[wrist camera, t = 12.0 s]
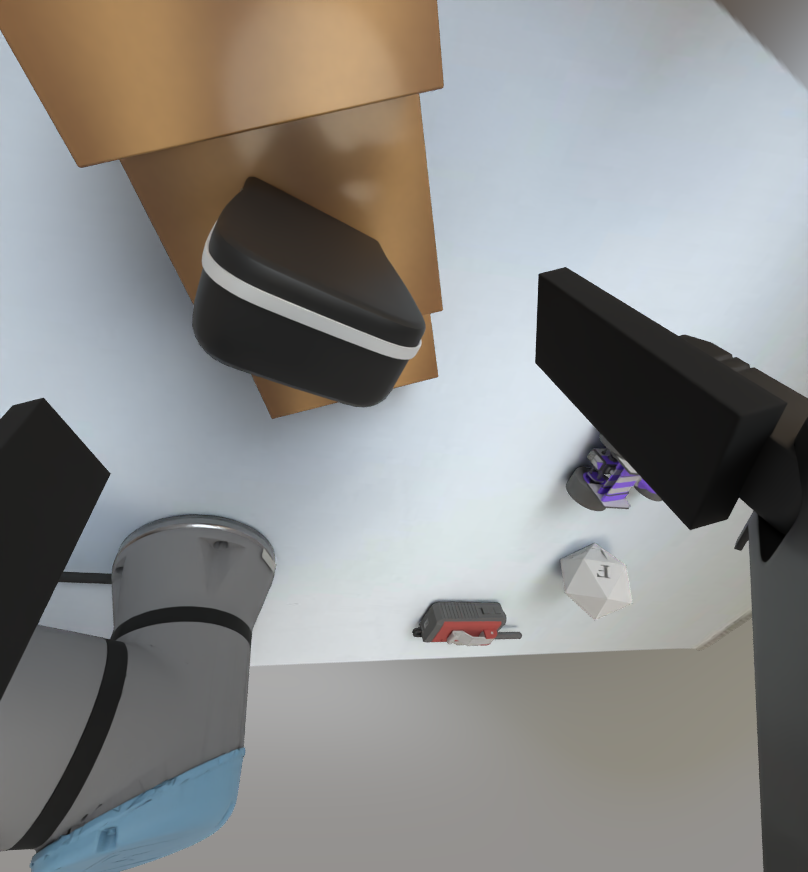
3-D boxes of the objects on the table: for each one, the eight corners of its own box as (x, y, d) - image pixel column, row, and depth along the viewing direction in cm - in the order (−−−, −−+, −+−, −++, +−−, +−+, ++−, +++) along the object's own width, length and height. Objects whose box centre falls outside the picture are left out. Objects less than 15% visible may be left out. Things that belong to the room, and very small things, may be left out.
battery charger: (220, 252, 20) (163, 371, 11) (243, 168, 18) (196, 234, 10) (354, 309, 23) (389, 438, 14) (385, 242, 21) (447, 344, 13)
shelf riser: (274, 390, 34) (266, 498, 25) (80, -49, 19) (-123, -183, 10) (426, 352, 35) (472, 444, 26) (359, -104, 19) (415, -279, 10)
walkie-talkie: (404, 632, 64) (514, 630, 71) (411, 662, 60) (525, 657, 68) (426, 599, 59) (541, 601, 66) (434, 630, 56) (554, 628, 63)
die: (619, 540, 61) (650, 569, 51) (609, 598, 62) (637, 638, 52) (558, 531, 62) (577, 559, 52) (549, 589, 63) (566, 626, 53)
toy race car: (655, 487, 53) (692, 527, 48) (557, 479, 49) (587, 523, 44) (706, 427, 48) (754, 465, 43) (602, 412, 43) (641, 453, 38)
